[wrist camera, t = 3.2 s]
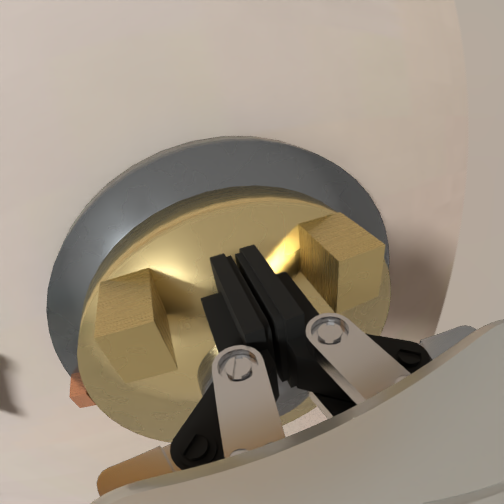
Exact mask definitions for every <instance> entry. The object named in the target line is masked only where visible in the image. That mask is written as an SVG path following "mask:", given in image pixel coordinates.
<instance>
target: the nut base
mask: <svg viewBox="0 0 504 504" xmlns="http://www.w3.org/2000/svg"><path fill="white" fill-rule="evenodd" d="M257 185H258V186H269V187H280V188H285V189H289V190H293V191H297V192H301V193H304V194H306V195H308V196H311V197H313V198H315V199H317V200H320V201H321V202H323V203H325V204H326V205H328V206H329V207H331V208H332V209H334V210H335V211H337V212H341V213H342V214H344V215H345V216H347V217H348V218H349V219H351V220H352V221H354V222H355V223H356V224H358V225H359V226H361V227H362V228H363V229H365V230H366V231H368V232H369V233H370V234H372V235H373V236H374V237H376V238H377V239H378V240H380V241H381V242H382V243H384V244H385V253H384V259H385V262H386V265H387V267H388V270H389V245H388V240H387V235H386V230H385V226H384V224H383V221H382V218H381V216H380V213H379V211H378V209H377V207H376V206H375V204H374V202H373V201H372V199H371V197H370V196H369V194H368V193H367V192H366V191H365V190H364V188H363V187H362V186H361V185H360V184H359V183H358V182H357V180H356V179H354V178H353V177H352V176H351V175H349V174H348V173H347V172H346V171H344V170H343V169H342V168H341V167H339V166H338V165H336V164H334V163H332V162H331V161H329V160H327V159H325V158H323V157H321V156H319V155H318V154H315V153H313V152H310V151H308V150H306V149H303V148H300V147H297V146H294V145H291V144H288V143H285V142H282V141H279V140H273V139H266V138H260V137H253V136H222V137H215V138H209V139H203V140H197V141H191V142H188V143H185V144H181V145H178V146H175V147H172V148H169V149H166V150H163V151H160V152H158V153H156V154H154V155H152V156H150V157H148V158H146V159H144V160H143V161H141V162H139V163H137V164H135V165H133V166H131V167H130V168H129V169H127V170H126V171H124V172H123V173H122V174H120V175H119V176H117V177H116V178H115V179H113V180H112V181H111V182H109V183H108V184H107V185H106V186H105V187H104V188H103V189H102V190H101V191H100V192H99V193H98V194H97V195H96V196H95V197H94V198H93V199H92V200H91V201H90V202H89V203H88V204H87V205H86V206H85V208H84V209H83V211H82V212H81V213H80V215H79V216H78V218H77V219H76V220H75V222H74V223H73V225H72V226H71V228H70V230H69V232H68V234H67V236H66V238H65V240H64V242H63V245H62V247H61V249H60V251H59V254H58V256H57V258H56V261H55V263H54V266H53V270H52V274H51V278H50V282H49V286H48V294H47V319H48V327H49V333H50V336H51V339H52V343H53V346H54V349H55V351H56V353H57V355H58V357H59V359H60V361H61V363H62V365H63V367H64V368H65V369H66V371H67V372H68V374H69V375H70V376H71V384H70V398H71V399H72V400H73V401H74V402H75V403H76V404H77V405H78V406H79V407H80V408H82V407H88V406H93V405H96V404H95V402H94V401H93V400H92V399H91V397H90V396H89V394H88V392H87V390H86V388H85V387H84V385H83V382H82V379H81V375H80V372H79V367H78V359H77V348H78V338H79V330H80V323H81V316H82V310H83V304H84V300H85V297H86V294H87V291H88V288H89V285H90V282H91V280H92V278H93V276H94V275H95V273H96V271H97V269H98V267H99V265H100V264H101V262H102V261H103V260H104V259H105V257H106V256H107V255H108V253H109V252H110V251H111V250H112V248H113V247H114V246H115V245H116V244H117V243H118V242H119V241H120V240H121V239H122V238H123V237H124V236H125V235H126V234H127V233H129V232H130V231H131V230H132V229H133V228H134V227H136V226H137V225H138V224H140V223H141V222H143V221H144V220H146V219H147V218H149V217H150V216H151V215H153V214H154V213H156V212H158V211H160V210H162V209H164V208H166V207H168V206H170V205H172V204H174V203H176V202H178V201H180V200H183V199H186V198H189V197H192V196H195V195H198V194H201V193H204V192H208V191H213V190H218V189H223V188H228V187H237V186H257Z"/></svg>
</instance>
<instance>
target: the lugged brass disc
mask: <svg viewBox="0 0 504 504" xmlns="http://www.w3.org/2000/svg"><path fill="white" fill-rule="evenodd" d="M253 244H254V245H255V246H256V247H257V248H258V250H259V251H260V253H261V254H262V255H263V257H264V258H265V260H266V261H267V262H268V264H269V265H270V266H271V268H272V269H273V271H274V272H275V273H276V274H278V273H281V272H287V273H288V274H289V276H290V277H291V278H292V279H293V281H294V282H295V283H296V285H297V286H298V287H299V288H300V290H301V291H302V292H303V294H304V295H305V296H306V297H307V299H308V300H309V301H310V303H311V304H312V305H313V307H314V308H315V309H316V310H317V312H318V313H319V314H324V313H337V314H340V315H343V316H344V317H346V318H348V319H349V320H350V321H351V322H352V323H354V324H355V325H356V326H357V327H358V328H359V329H360V330H362V331H363V332H364V333H365V334H371V335H376V336H380V334H381V332H382V330H383V327H384V325H385V322H386V318H387V315H388V311H389V305H390V298H391V282H390V276H389V271H388V267H387V265H386V262H385V259H384V253H385V244H384V243H382V242H381V241H380V240H378V239H377V238H376V237H374V236H373V235H372V234H370V233H369V232H368V231H366V230H365V229H363V228H362V227H361V226H359V225H358V224H356V223H355V222H354V221H352V220H351V219H349V218H348V217H347V216H345V215H344V214H342V213H341V212H337V211H335V210H334V209H332V208H331V207H329V206H328V205H326V204H325V203H323V202H321V201H320V200H317V199H315V198H313V197H311V196H308V195H306V194H304V193H301V192H297V191H293V190H289V189H285V188H280V187H269V186H258V185H257V186H237V187H228V188H223V189H218V190H213V191H208V192H204V193H201V194H198V195H195V196H192V197H189V198H186V199H183V200H180V201H178V202H176V203H174V204H172V205H170V206H168V207H166V208H164V209H162V210H160V211H158V212H156V213H154V214H153V215H151V216H150V217H149V218H147V219H146V220H144V221H143V222H141V223H140V224H138V225H137V226H136V227H134V228H133V229H132V230H131V231H130V232H129V233H127V234H126V235H125V236H124V237H123V238H122V239H121V240H120V241H119V242H118V243H117V244H116V245H115V246H114V247H113V248H112V250H111V251H110V252H109V253H108V255H107V256H106V257H105V259H104V260H103V261H102V262H101V264H100V265H99V267H98V269H97V271H96V273H95V275H94V276H93V278H92V280H91V282H90V285H89V288H88V291H87V294H86V297H85V300H84V304H83V310H82V316H81V323H80V330H79V338H78V348H77V359H78V367H79V372H80V375H81V379H82V382H83V385H84V387H85V388H86V390H87V392H88V394H89V396H90V397H91V399H92V400H93V401H94V402H95V404H96V405H97V406H98V407H99V408H100V410H102V411H103V412H104V413H105V414H106V415H107V416H108V417H109V418H111V419H112V420H114V421H115V422H117V423H118V424H120V425H121V426H123V427H125V428H127V429H129V430H131V431H133V432H135V433H137V434H140V435H143V436H145V437H148V438H152V439H156V440H160V441H164V442H171V443H172V441H173V439H174V437H175V436H176V434H177V433H178V431H179V430H180V428H181V427H182V426H183V424H184V423H185V421H186V420H187V418H188V417H189V415H190V414H191V413H192V411H193V410H194V408H195V407H196V405H197V404H198V402H199V401H200V399H201V398H202V397H203V395H204V394H205V392H206V391H207V389H208V388H209V386H210V385H211V383H212V382H213V375H212V363H213V361H214V359H215V357H216V356H217V355H218V354H219V353H218V350H217V347H216V345H215V342H214V339H213V336H212V333H211V330H210V327H209V324H208V321H207V318H206V315H205V312H204V309H203V306H202V302H201V299H200V298H203V297H206V296H209V295H212V294H216V293H218V290H217V287H216V283H215V279H214V275H213V271H212V267H211V263H210V257H213V256H216V255H219V254H223V253H224V254H225V255H226V257H227V256H230V255H231V256H232V258H233V260H234V261H235V263H236V259H235V254H237V253H239V249H240V248H243V247H246V246H250V245H253ZM236 265H237V264H236ZM277 378H278V387H279V395H280V396H279V398H278V400H277V402H276V406H277V409H278V413H279V416H280V420H281V423H282V426H283V425H285V424H287V423H289V422H291V421H293V420H295V419H297V418H299V417H301V416H302V415H304V414H306V413H308V412H309V411H311V410H312V409H314V408H315V407H317V406H316V404H315V403H314V402H313V401H312V400H311V398H310V397H309V396H308V394H307V392H306V390H302V389H298V388H297V386H295V387H293V388H291V387H290V385H289V383H288V382H287V381H285V382H282V381H281V380H280V378H279V376H278V374H277Z"/></svg>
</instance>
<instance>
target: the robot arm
mask: <svg viewBox="0 0 504 504" xmlns="http://www.w3.org/2000/svg"><path fill="white" fill-rule="evenodd" d="M235 259H236V263H235V261H234V260H233V258H232V256H231V255H230V256H227V257H226V255H225V254H224V253H223V254H219V255H216V256H213V257H210V263H211V267H212V271H213V275H214V279H215V283H216V287H217V290H218V293H216V294H212V295H209V296H206V297H203V298H200V299H201V302H202V306H203V309H204V312H205V315H206V318H207V321H208V324H209V327H210V330H211V333H212V336H213V339H214V342H215V345H216V347H217V350H218V353H219V354H218V355H217V356H216V357H215V359H214V361H213V363H212V375H213V382H212V383H211V385H210V386H209V388H208V389H207V391H206V392H205V394H204V395H203V397H202V398H201V399H200V401H199V402H198V404H197V405H196V407H195V408H194V410H193V411H192V413H191V414H190V415H189V417H188V418H187V420H186V421H185V423H184V424H183V426H182V427H181V428H180V430H179V431H178V433H177V434H176V436H175V437H174V439H173V441H172V443H171V444H169V445H167V446H165V447H163V448H161V447H160V446H158V447H156V448H154V449H151V450H149V451H147V452H145V453H142V454H140V455H138V456H136V457H133V458H131V459H128V460H126V461H124V462H121V463H119V464H116V465H114V466H111V467H108V468H107V469H105V470H103V471H102V472H101V474H100V475H99V476H98V480H97V489H98V493H99V495H100V497H99V498H97V499H96V500H94V501H93V502H92V503H90V504H504V320H499V321H495V322H492V323H490V324H487V325H485V326H483V327H481V328H479V329H478V330H476V329H475V328H472V327H471V326H460V327H457V328H454V329H451V330H448V331H446V332H443V333H440V334H437V335H434V336H431V337H428V338H425V339H422V340H421V341H420V343H419V344H417V343H415V342H411V341H405V340H399V339H393V338H388V337H382V336H376V335H371V334H365V333H364V332H363V331H362V330H360V329H359V328H358V327H357V326H356V325H355V324H354V323H352V322H351V321H350V320H349V319H348V318H346V317H344V316H343V315H340V314H337V313H324V314H319V313H318V312H317V310H316V309H315V308H314V307H313V305H312V304H311V303H310V301H309V300H308V299H307V297H306V296H305V295H304V294H303V292H302V291H301V290H300V288H299V287H298V286H297V285H296V283H295V282H294V281H293V279H292V278H291V277H290V276H289V274H288V273H287V272H281V273H278V274H276V273H275V272H274V271H273V269H272V268H271V266H270V265H269V264H268V262H267V261H266V260H265V258H264V257H263V255H262V254H261V253H260V251H259V250H258V248H257V247H256V246H255V245H254V244H253V245H250V246H246V247H243V248H240V249H239V253H237V254H235ZM236 264H237V265H236ZM277 374H278V376H279V378H280V380H281V381H282V382H285V381H287V382H288V383H289V385H290V387H291V388H293V387H295V386H297V388H298V389H302V390H306V392H307V394H308V396H309V397H310V398H311V400H312V401H313V402H314V403H315V404H316V406H317V407H318V408H319V409H320V410H321V412H322V413H323V414H324V415H325V416H326V417H327V419H328V420H325V421H323V422H321V423H319V424H317V425H314V426H312V427H310V428H307V429H305V430H303V431H300V432H298V433H296V434H293V435H291V436H288V437H285V434H284V430H283V427H282V423H281V420H280V416H279V413H278V409H277V406H276V402H277V400H278V398H279V396H280V395H279V387H278V378H277Z"/></svg>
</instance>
